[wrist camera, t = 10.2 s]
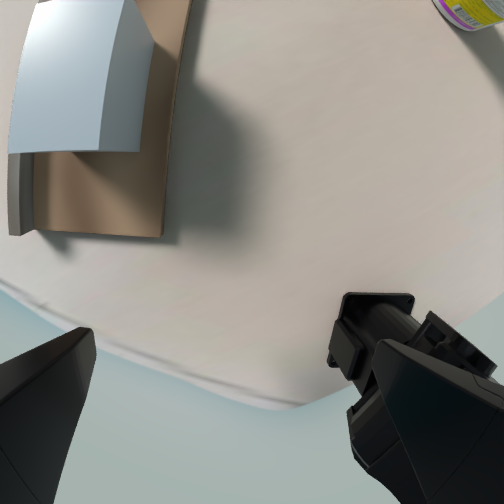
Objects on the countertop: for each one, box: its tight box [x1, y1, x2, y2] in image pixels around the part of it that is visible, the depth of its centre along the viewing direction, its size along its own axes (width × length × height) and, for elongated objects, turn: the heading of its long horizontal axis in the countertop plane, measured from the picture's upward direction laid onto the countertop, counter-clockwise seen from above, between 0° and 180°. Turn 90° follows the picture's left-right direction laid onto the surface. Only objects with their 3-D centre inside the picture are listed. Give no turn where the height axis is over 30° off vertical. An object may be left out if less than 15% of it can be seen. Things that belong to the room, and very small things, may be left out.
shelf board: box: [7, 0, 192, 238], centre depth 15 cm, size 10×17×3 cm, turn 174°
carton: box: [8, 0, 155, 154], centre depth 12 cm, size 5×7×7 cm
